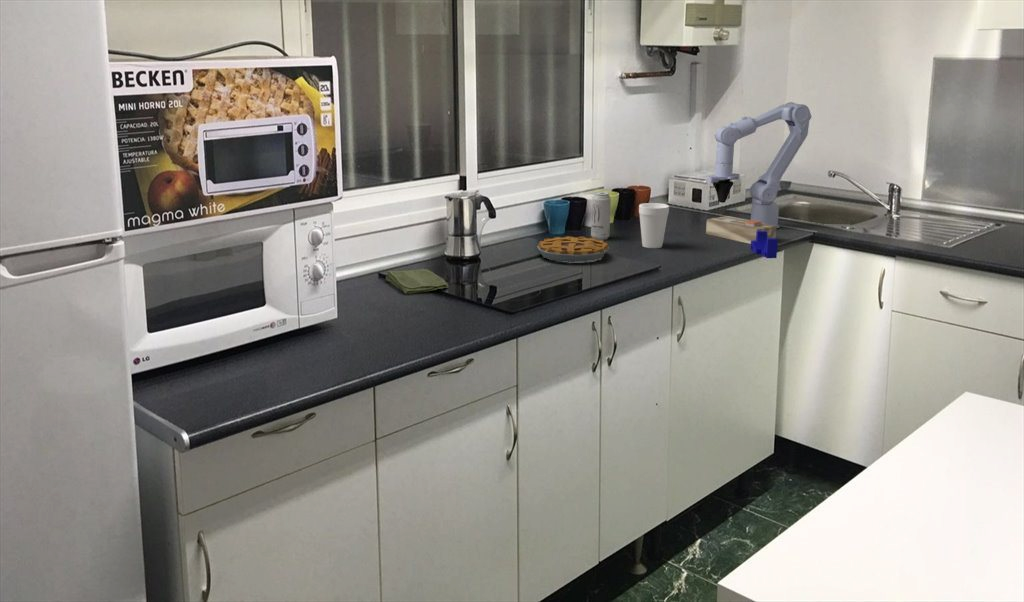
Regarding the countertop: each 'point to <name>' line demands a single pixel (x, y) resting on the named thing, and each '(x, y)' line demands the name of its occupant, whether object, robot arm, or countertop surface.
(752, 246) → the blue angular block
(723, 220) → the matte grey cube
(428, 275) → the washcloth
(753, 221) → the orange block
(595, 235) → the energy drink can
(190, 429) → the countertop surface
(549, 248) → the pie
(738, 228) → the button block
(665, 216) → the foam cup
